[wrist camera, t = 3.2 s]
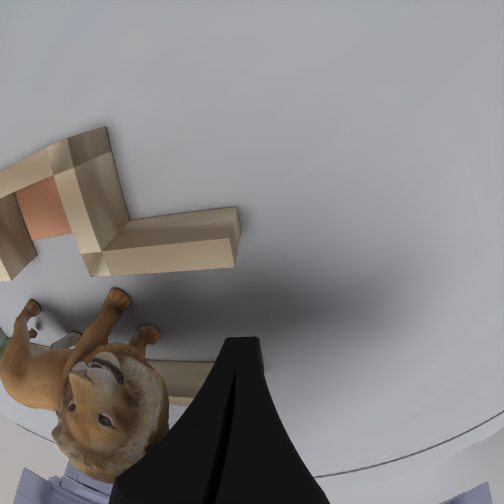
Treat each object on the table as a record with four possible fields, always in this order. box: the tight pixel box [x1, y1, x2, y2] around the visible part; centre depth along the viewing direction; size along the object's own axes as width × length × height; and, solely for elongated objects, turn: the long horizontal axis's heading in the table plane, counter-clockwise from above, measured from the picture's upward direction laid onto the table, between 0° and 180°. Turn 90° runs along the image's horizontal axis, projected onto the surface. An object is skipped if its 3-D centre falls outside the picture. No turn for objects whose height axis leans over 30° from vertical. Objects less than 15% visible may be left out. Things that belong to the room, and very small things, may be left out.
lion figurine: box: [0, 288, 169, 484], centre depth 10 cm, size 15×5×9 cm, turn 111°
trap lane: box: [0, 127, 241, 406], centre depth 12 cm, size 14×25×3 cm, turn 97°
